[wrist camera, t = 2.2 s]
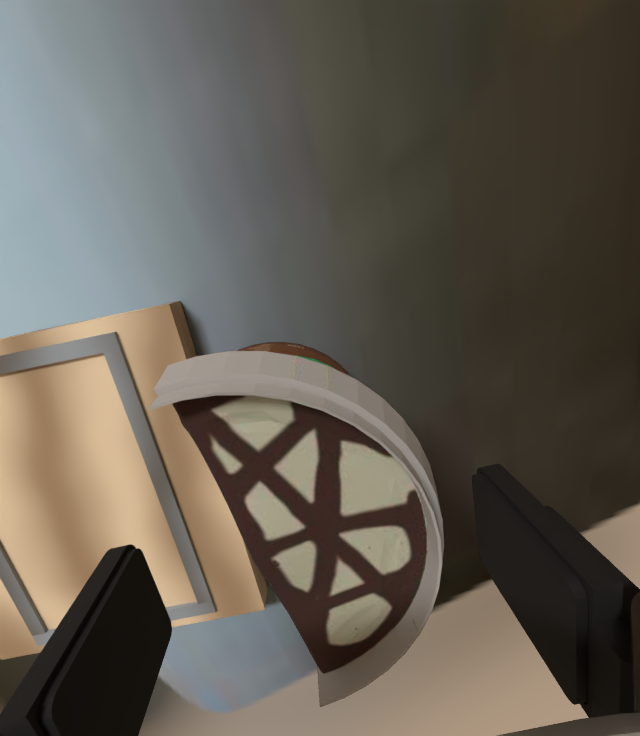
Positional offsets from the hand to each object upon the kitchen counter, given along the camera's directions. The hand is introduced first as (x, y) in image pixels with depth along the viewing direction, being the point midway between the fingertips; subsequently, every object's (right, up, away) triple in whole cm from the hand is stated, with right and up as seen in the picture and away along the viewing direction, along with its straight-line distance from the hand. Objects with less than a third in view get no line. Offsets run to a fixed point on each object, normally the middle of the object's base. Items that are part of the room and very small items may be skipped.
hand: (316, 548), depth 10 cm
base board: (-13, -2, +10) cm, 17 cm away
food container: (+1, +3, +10) cm, 10 cm away
